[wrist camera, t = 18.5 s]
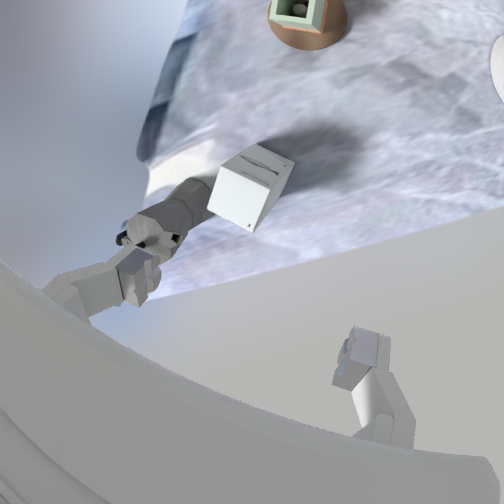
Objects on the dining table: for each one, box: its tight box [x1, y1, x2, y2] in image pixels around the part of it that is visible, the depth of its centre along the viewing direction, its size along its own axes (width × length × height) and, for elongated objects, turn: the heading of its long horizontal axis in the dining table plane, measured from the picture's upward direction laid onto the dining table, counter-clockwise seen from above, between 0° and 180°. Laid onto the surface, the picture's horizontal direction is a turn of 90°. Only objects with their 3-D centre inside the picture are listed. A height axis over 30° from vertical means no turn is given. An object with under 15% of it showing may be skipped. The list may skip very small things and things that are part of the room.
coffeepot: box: [116, 179, 214, 265], centre depth 50 cm, size 15×9×18 cm, turn 104°
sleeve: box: [269, 0, 328, 35], centre depth 28 cm, size 5×5×8 cm
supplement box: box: [207, 144, 295, 233], centre depth 43 cm, size 7×7×13 cm
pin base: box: [268, 0, 347, 50], centre depth 30 cm, size 11×11×6 cm
